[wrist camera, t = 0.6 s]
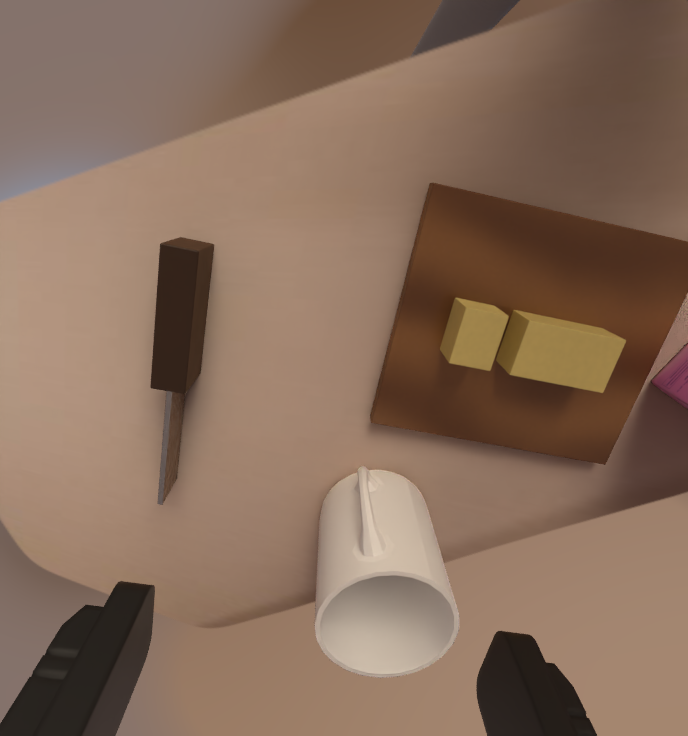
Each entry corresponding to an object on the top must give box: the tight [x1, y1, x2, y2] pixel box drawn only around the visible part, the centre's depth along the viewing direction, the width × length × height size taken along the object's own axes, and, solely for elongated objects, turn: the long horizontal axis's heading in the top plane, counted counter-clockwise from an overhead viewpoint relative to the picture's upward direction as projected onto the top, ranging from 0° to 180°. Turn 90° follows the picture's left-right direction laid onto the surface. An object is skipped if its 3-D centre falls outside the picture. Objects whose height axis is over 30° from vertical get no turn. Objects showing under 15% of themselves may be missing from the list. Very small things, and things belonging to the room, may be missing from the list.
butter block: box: [496, 310, 626, 393], centre depth 33 cm, size 4×7×3 cm, turn 78°
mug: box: [315, 466, 460, 678], centre depth 35 cm, size 10×12×12 cm
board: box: [370, 183, 688, 465], centre depth 35 cm, size 18×20×1 cm
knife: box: [151, 237, 214, 505], centre depth 34 cm, size 20×2×4 cm, turn 168°
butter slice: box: [440, 298, 509, 371], centre depth 32 cm, size 4×3×3 cm
